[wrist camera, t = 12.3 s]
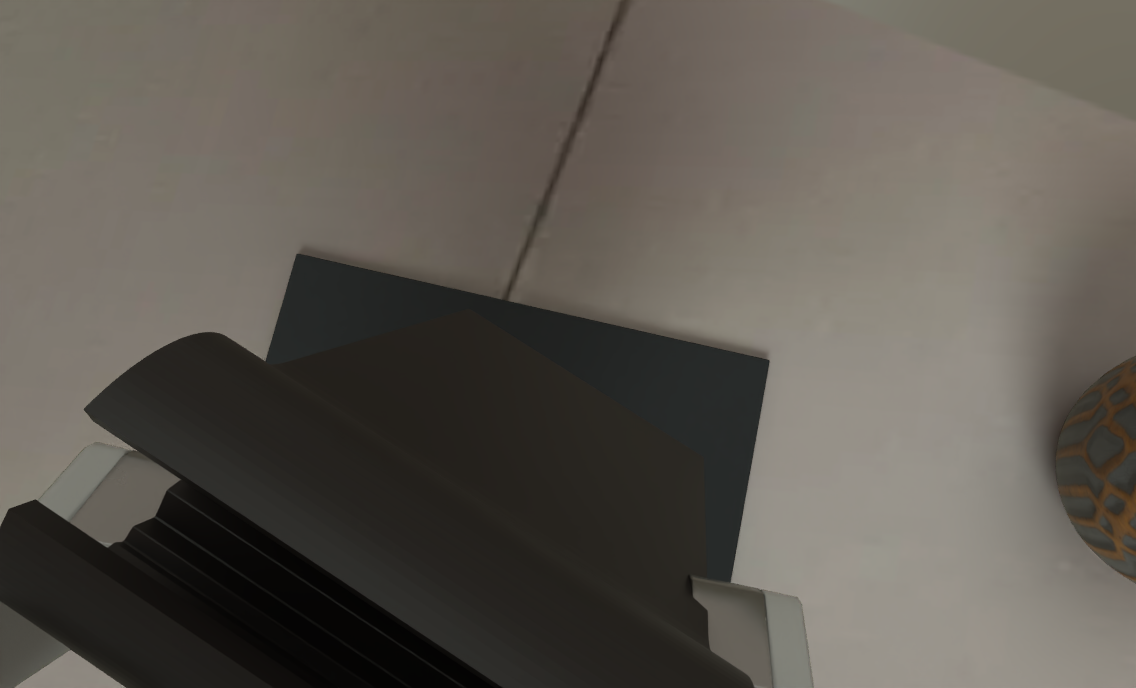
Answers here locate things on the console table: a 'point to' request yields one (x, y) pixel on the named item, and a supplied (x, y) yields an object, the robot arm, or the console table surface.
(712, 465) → the mat
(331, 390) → the phone stand
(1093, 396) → the vase
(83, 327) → the console table surface
